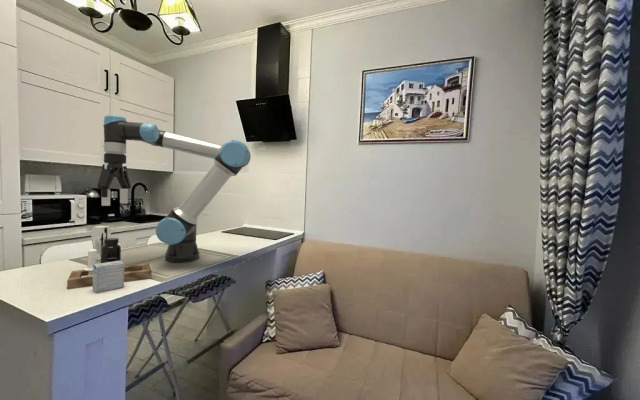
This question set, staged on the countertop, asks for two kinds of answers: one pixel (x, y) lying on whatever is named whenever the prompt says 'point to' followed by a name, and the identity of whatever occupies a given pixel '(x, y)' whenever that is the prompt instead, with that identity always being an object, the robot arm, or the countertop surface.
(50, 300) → the countertop surface
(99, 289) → the medicine box
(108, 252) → the supplement bottle
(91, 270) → the candle
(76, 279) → the rack block
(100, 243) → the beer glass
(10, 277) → the countertop surface
